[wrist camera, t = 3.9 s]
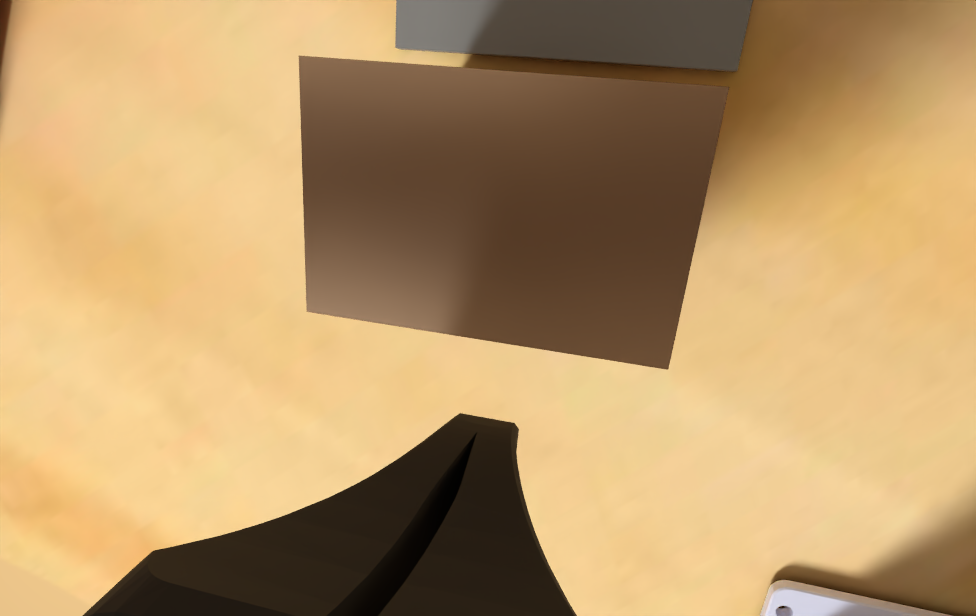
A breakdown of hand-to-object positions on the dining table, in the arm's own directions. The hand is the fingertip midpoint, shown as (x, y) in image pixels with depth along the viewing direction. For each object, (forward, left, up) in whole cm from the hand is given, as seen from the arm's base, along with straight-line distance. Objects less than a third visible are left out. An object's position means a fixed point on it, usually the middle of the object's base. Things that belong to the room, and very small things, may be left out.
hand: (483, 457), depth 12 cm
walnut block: (+6, 0, -6) cm, 8 cm away
